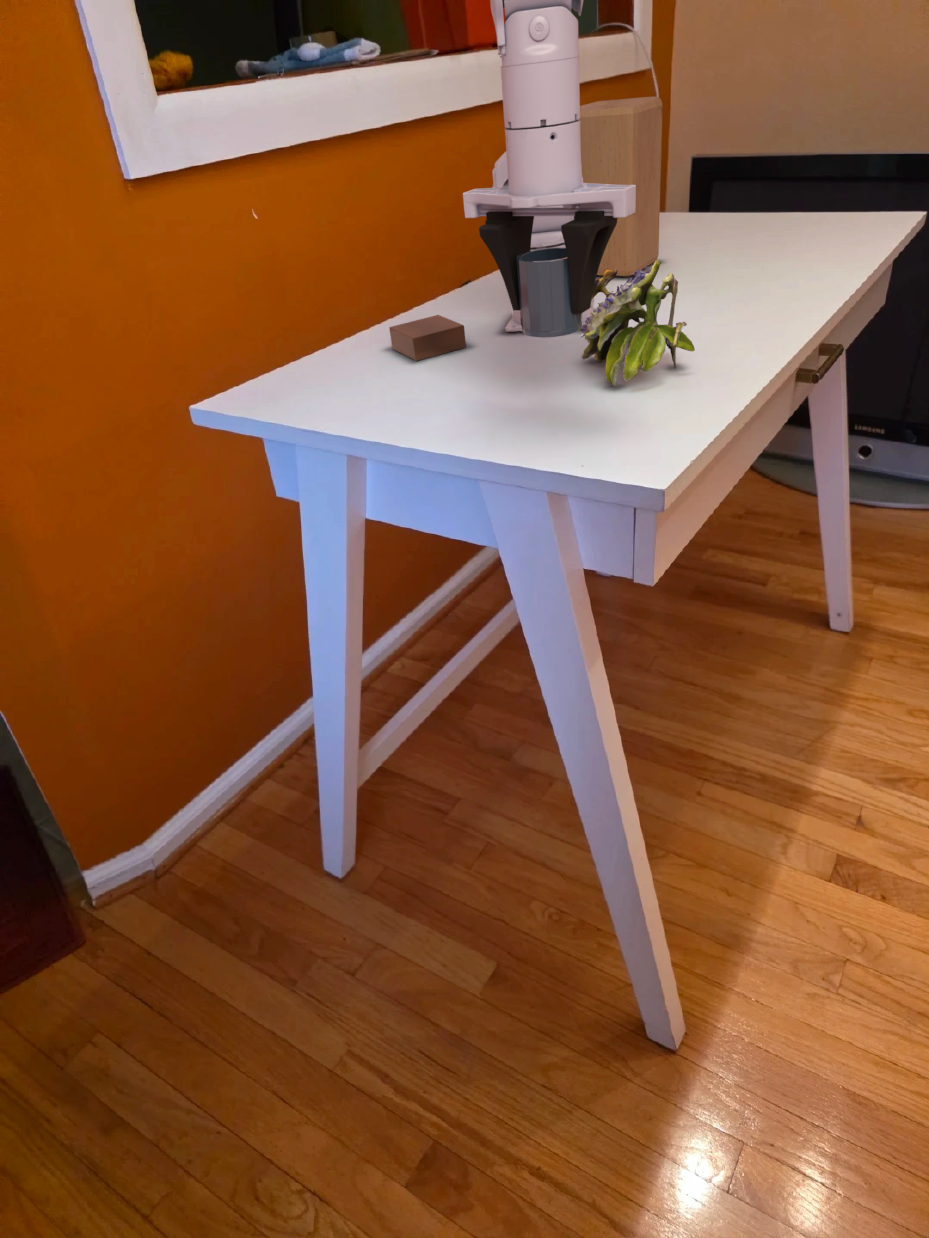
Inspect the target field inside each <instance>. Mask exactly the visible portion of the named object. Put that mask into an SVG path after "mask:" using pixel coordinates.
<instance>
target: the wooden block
mask: <svg viewBox="0 0 929 1238" xmlns="http://www.w3.org/2000/svg"><path fill="white" fill-rule="evenodd" d="M579 120H580V136H581V165H582V178H583V183H595V184H612V185H636V208H635V213H633V214H631V215H629V216H627V217H625V218H618V219H617V224H616V227H615V229H614V231H613V233H612V235H611V237H610V239H609V241H608V244H607V246H606V249H605V251H604V254H603V256H602V259H601V262H600V265H599V269H598V272H597V276H596V277H603V275H604V273H605V272H606V271H607V270H612V271H613V270H615V269H617V270H618V273H617V274H616V276H615V277H622V278H623V277H625V278H626V277H627V278H629V277H633V275H634V273H635V272H636V271H638V270H642V271H643V270H644V269H645V268H646V267H648V266H650V265H652V264H654V262H655V261H656V260H658V257H659V254H660V253H659V252H660V251H659V248H660V215H661V213H660V211H661V175H662V139H663V136H662V135H663V101H662V98H660V97H658V96H655V95H654V96H643V97H632V98H620V99H610V100H609V99H608V100H597V101H593V102H590V103H586V104H581V105H580V119H579Z"/></svg>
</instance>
